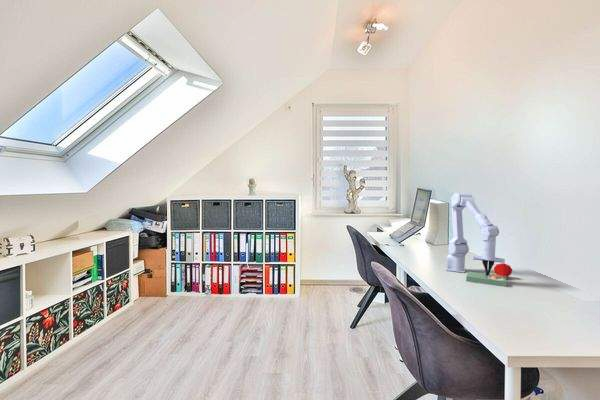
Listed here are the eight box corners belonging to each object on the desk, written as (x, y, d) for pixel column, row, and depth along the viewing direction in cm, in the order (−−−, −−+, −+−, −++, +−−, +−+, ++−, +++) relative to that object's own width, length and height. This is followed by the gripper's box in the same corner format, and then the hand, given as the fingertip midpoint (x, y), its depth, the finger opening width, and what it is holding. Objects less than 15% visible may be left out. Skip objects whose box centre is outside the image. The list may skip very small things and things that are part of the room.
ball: (499, 277, 182) (494, 284, 183) (500, 277, 185) (495, 283, 187) (491, 272, 185) (486, 278, 186) (493, 272, 188) (488, 278, 189)
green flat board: (466, 281, 187) (466, 276, 186) (467, 276, 196) (468, 271, 196) (506, 286, 178) (506, 281, 178) (506, 281, 188) (506, 276, 187)
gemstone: (517, 280, 185) (516, 267, 193) (501, 271, 186) (500, 259, 194) (506, 290, 190) (505, 278, 198) (490, 281, 192) (490, 269, 199)
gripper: (472, 248, 186) (471, 274, 187) (505, 252, 179) (503, 279, 180) (473, 246, 192) (472, 271, 193) (505, 249, 185) (503, 275, 186)
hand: (487, 275), depth 187 cm, fingers closed
